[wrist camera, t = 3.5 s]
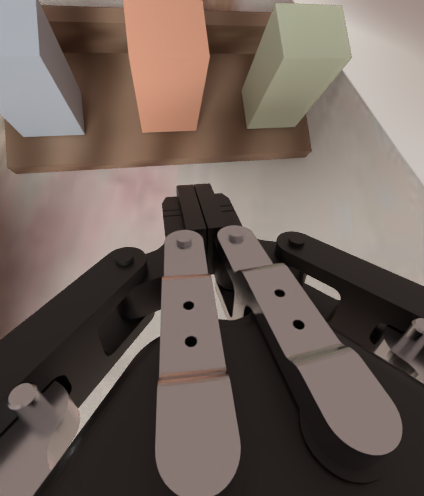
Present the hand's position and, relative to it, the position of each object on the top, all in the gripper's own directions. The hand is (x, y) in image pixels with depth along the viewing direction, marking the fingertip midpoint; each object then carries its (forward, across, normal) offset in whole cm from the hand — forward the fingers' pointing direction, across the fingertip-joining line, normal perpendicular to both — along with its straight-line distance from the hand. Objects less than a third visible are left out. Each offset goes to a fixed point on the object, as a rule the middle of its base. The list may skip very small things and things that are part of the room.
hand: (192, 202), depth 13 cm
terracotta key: (+18, 0, 0) cm, 18 cm away
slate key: (+18, +10, 0) cm, 20 cm away
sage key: (+18, -10, 0) cm, 20 cm away
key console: (+20, 0, 0) cm, 20 cm away
